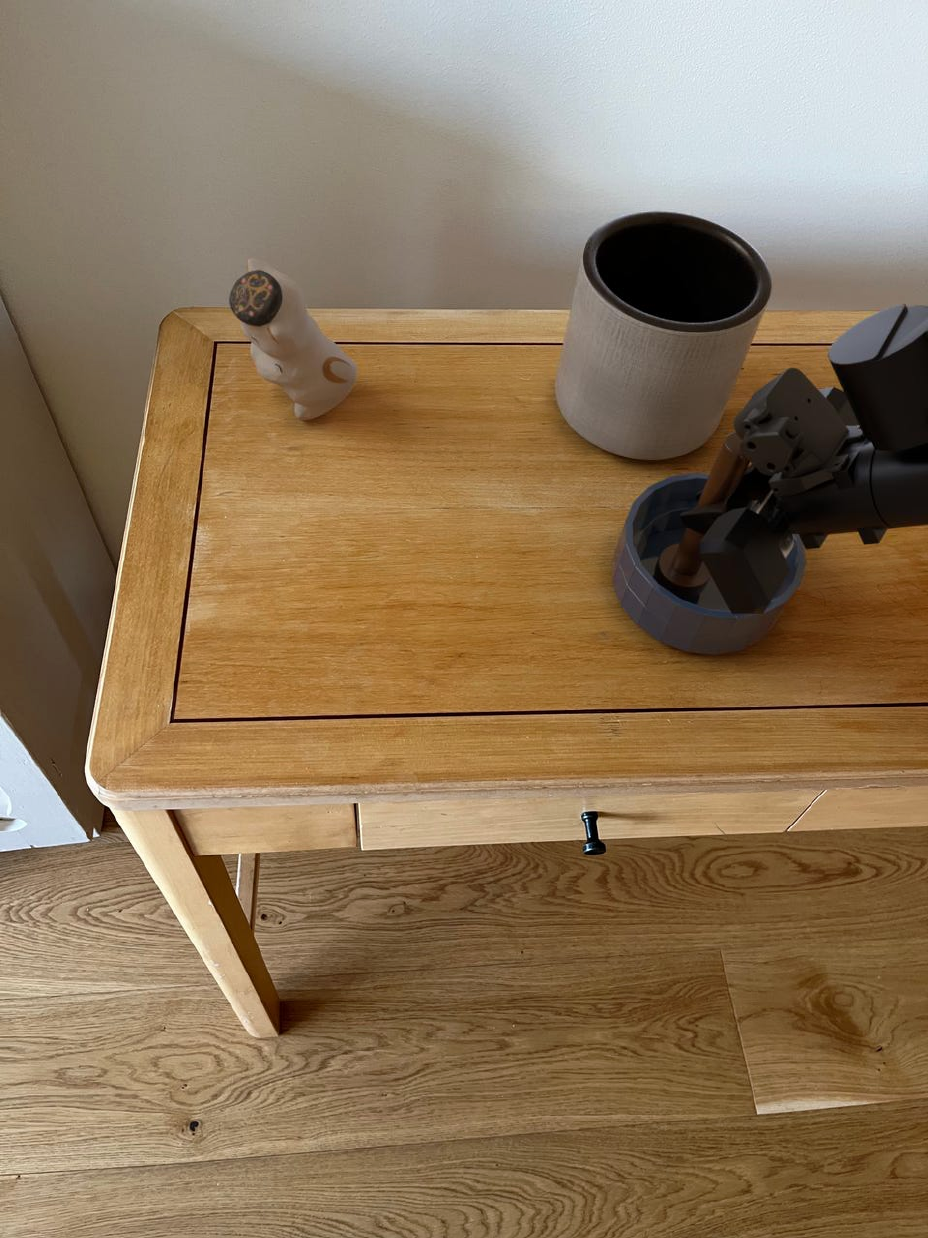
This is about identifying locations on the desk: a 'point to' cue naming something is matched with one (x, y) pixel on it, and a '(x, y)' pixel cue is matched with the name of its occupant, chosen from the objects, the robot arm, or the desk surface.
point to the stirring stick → (682, 561)
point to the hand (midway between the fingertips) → (690, 509)
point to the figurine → (290, 341)
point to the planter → (658, 332)
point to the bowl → (694, 618)
